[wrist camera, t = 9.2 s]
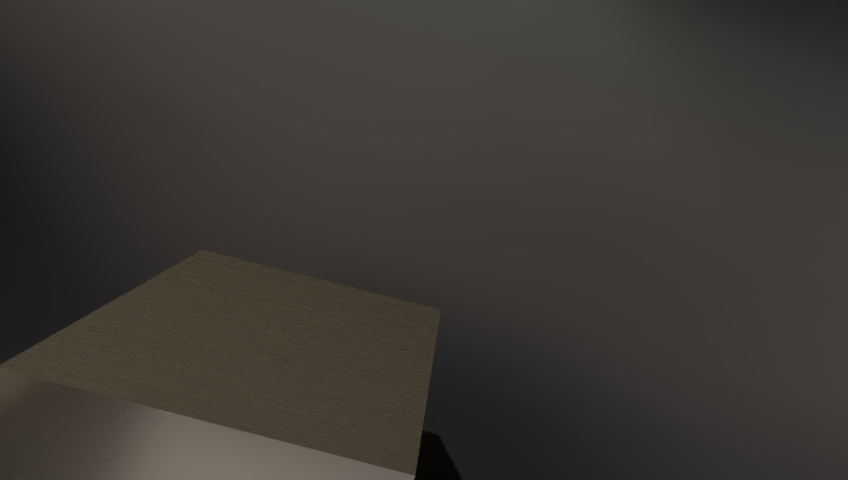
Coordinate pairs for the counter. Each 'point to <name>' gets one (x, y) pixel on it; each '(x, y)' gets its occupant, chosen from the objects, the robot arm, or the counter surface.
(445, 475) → the robot arm
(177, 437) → the block
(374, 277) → the counter surface
